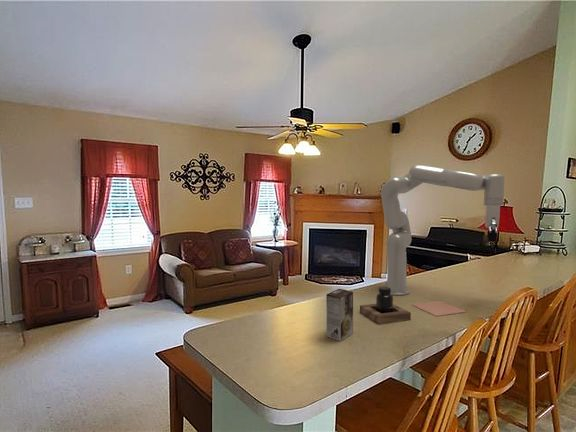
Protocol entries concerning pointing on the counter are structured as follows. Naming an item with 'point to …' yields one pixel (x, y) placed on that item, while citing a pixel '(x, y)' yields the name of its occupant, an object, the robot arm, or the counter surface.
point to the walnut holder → (385, 314)
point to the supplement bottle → (384, 300)
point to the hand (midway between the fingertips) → (491, 240)
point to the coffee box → (339, 314)
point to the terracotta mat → (438, 308)
